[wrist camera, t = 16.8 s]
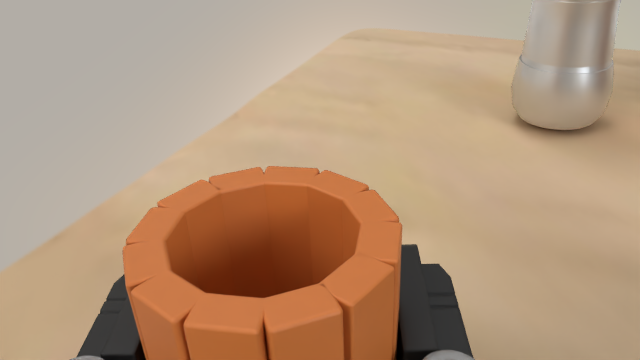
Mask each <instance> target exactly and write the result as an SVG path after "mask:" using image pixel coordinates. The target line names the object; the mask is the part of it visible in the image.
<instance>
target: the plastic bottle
mask: <svg viewBox="0 0 640 360" xmlns="http://www.w3.org/2000/svg"><path fill="white" fill-rule="evenodd" d="M620 3H621V0H532V8H531V12H530V17H529V22H528V27H527V31H526V36H525V40H524V45H523V50H522V54H521V56H520V58H519V60H518V63H517V66H516V70H515V74H514V77H513V81H512V104H513V106H514V108H515V110H516V112H517V114H518V115H519V117H520V118H521V119H523V120H524V121H525V122H528V123H530V124H532V125H535V126H538V127H542V128H548V129H556V130H572V129H580V128H584V127H587V126H589V125H591V124H593V123H594V122H595V121H596V120H597V119H598V118H599V117H600V116H601V115H602V114H603V113H604V112H605V109H606V107H607V104H608V102H609V100H610V97H611V95H612V90H613V76H614V66H613V60H612V58H613V52H614V44H615V36H616V28H617V19H618V11H619V7H620Z"/></svg>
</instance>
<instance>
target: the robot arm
mask: <svg viewBox="0 0 640 360" xmlns="http://www.w3.org/2000/svg"><path fill="white" fill-rule="evenodd" d="M106 299H107V301H106V302H104V304H103V306H102V308H101V310H100V314H98V316H97V318H96V320H95V322H94V324H93V326H92V328H91V330H90V332H89V334H88V336H87V338H86V340H85V341H84V343H83V345H82V347H81V349H80V351H79V353H78V355H77V357H76V358H73V359H70V360H146V358H145V354H144V351H143V347H142V343H141V340H140V336H139V332H138V329H137V325H136V322H135V318H134V314H133V311H132V307H131V304H130V300H129V296H128V293H127V289H126V285H125V274H124V275H123V276H122V277H121V278H120V279H119V280H117V281H116V282H115V283H114V285H113V287H112V289H111V291H110V293H109V295H108V296H107V298H106ZM397 360H475V359H474V358H473V355H472V353H471V349H470V345H469V342H468V338H467V335H466V331H465V327H464V324H463V320H462V317H461V313H460V309H459V308H458V302H457V299H456V295H455V291H454V288H453V284H452V281H451V277H450V276H449V275H448V274H447V273H446V272H445V270H444V269H443V268H442V267H441V266H440V265H439V264H421V261H420V256H419V251H418V247H417V245H416V244H411V245H401V272H400V299H399V317H398V345H397Z"/></svg>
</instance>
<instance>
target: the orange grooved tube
mask: <svg viewBox="0 0 640 360" xmlns="http://www.w3.org/2000/svg"><path fill="white" fill-rule="evenodd" d="M157 204H158V207H153V208H151V209H150V210H149V211H148V213H147V214H146V215H145V216H144V218H143V219H142V220H141V221H140V223H139V224H138V225H137V226H136V228H135V229H134V230H133V231H132V233H131V234H130V235H129V236H128V238H127V239H126V246H125V247H123V262H124V274H125V285H126V289H127V293H128V296H129V300H130V304H131V307H132V311H133V314H134V318H135V322H136V325H137V329H138V332H139V336H140V340H141V343H142V347H143V351H144V354H145V358H146V360H397V345H398V317H399V299H400V272H401V245H402V224H401V223H399V218H398V216H397V215H396V214H395V212H394V211H393V210H392V209H391V208H390V207H389V206H388V205H387V203H386V202H385V201H384V200H383V199H382V198H381V197H380V196H379V194H378V193H377V192H376V191H375V190H369V187H368V185H366V184H363V183H361V182H358V181H355V180H352V179H350V178H347V177H344V176H342V175H339V174H336V173H333V172H331V171H328V170H324V171H323V172H321V173H319V170H318V169H317V168H298V167H278V166H269V167H267V169H266V171H265V172H263V170H262V169H261V168H260V167H256V168H251V169H246V170H241V171H236V172H232V173H227V174H222V175H217V176H212V177H210V178H209V182H207V181H205V180H199V181H197V182H195V183H193V184H191V185H189V186H188V187H186V188H184V189H182V190H180V191H178V192H176V193H174V194H172V195H170V196H168V197H166V198H164V199H162V200H160V201H159V202H158V203H157Z"/></svg>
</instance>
